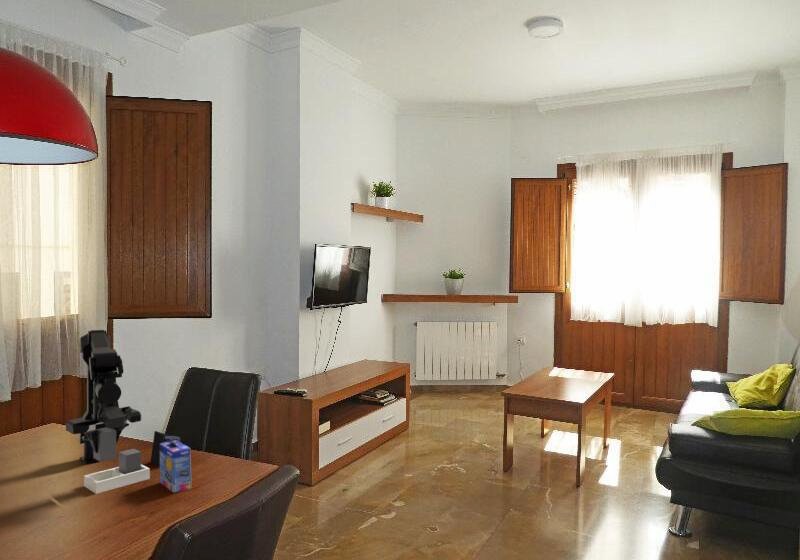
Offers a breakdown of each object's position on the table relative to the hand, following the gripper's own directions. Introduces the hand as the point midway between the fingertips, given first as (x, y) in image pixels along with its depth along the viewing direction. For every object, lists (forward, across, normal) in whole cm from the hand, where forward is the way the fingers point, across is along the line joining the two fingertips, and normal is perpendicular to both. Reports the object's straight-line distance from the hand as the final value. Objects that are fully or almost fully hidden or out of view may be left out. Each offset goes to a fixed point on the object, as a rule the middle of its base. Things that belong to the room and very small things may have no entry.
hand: (104, 450), depth 167 cm
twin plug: (+10, +7, 0) cm, 12 cm away
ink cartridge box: (+11, +14, -14) cm, 22 cm away
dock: (+11, +4, 0) cm, 11 cm away
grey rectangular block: (+2, 0, 0) cm, 2 cm away
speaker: (+11, +22, +6) cm, 25 cm away
